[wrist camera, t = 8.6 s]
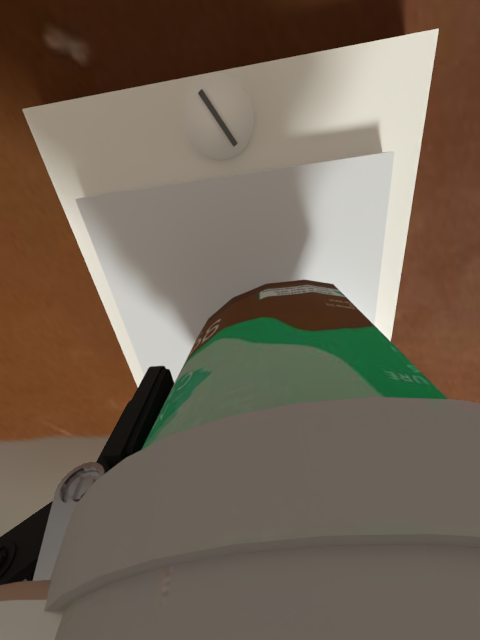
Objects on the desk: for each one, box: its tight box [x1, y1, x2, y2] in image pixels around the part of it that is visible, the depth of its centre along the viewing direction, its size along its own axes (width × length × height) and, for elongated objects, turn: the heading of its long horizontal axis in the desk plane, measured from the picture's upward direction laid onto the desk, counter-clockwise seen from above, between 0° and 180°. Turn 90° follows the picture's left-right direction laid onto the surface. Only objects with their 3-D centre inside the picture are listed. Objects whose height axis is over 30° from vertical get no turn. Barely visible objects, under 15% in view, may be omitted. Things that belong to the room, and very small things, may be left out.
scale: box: [22, 29, 439, 387], centre depth 16 cm, size 16×19×4 cm
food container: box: [44, 280, 480, 640], centre depth 9 cm, size 12×6×10 cm, turn 167°
